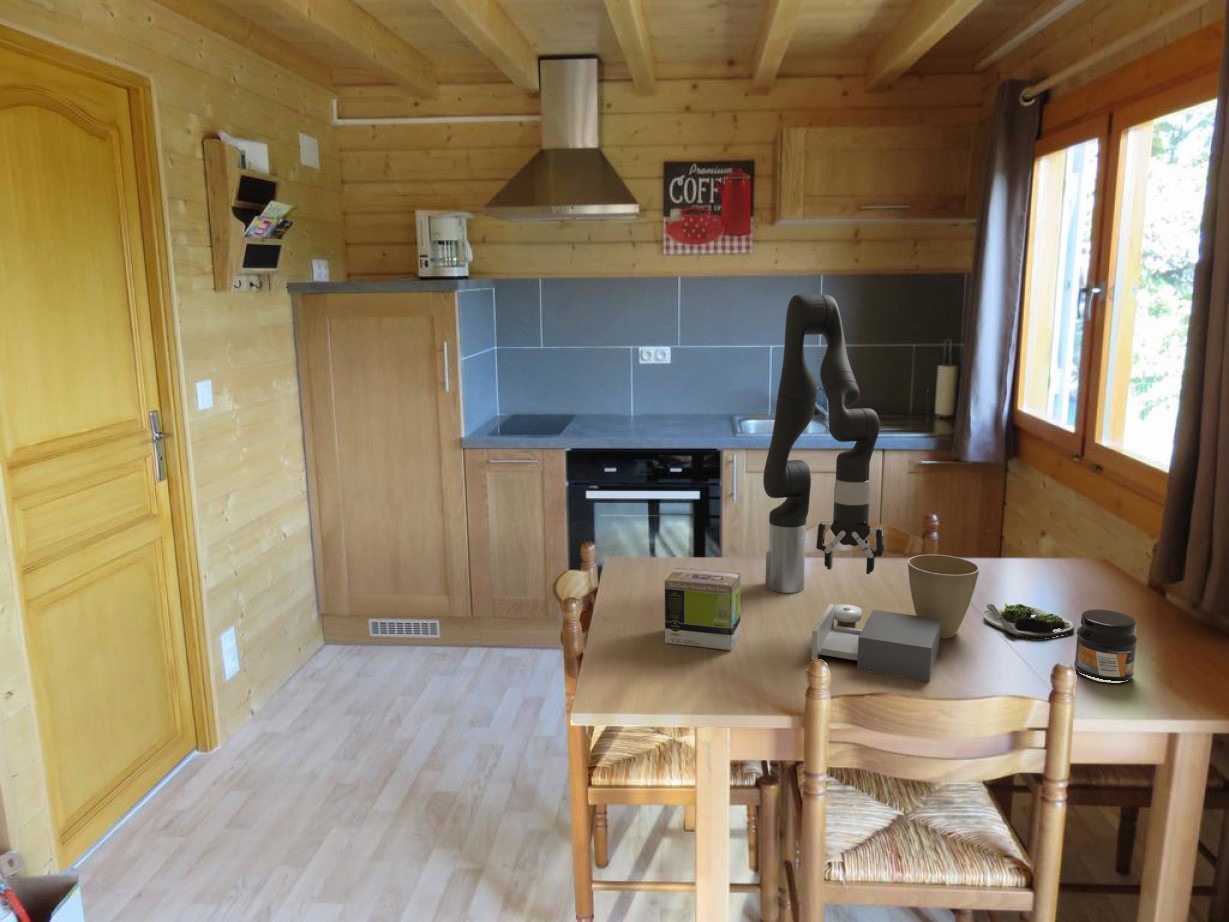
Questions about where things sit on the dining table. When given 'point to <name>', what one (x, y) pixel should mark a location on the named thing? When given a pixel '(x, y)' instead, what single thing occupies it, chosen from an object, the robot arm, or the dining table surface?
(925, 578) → the plant pot
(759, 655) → the dining table surface
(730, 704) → the dining table surface
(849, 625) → the pedestal
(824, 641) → the tray
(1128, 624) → the supplement container
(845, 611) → the disc
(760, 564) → the dining table surface
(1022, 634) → the salad plate
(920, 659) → the block
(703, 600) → the tea box
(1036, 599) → the dining table surface
